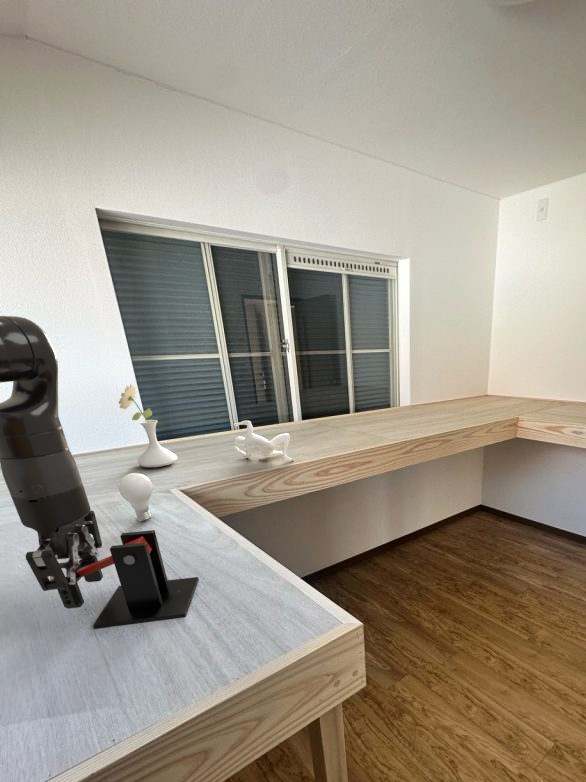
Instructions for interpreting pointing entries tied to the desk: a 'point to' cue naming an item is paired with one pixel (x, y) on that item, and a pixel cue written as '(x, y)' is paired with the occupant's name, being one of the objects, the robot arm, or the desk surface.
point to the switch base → (144, 585)
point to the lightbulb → (137, 493)
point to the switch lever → (101, 562)
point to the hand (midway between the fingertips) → (85, 592)
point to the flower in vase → (154, 452)
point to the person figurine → (261, 443)
